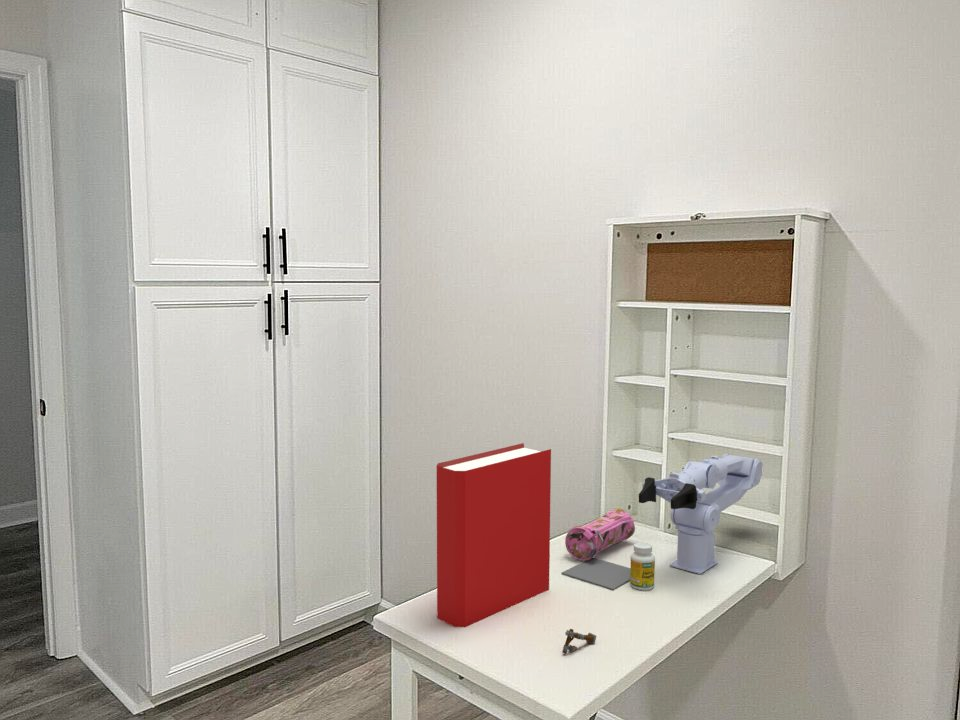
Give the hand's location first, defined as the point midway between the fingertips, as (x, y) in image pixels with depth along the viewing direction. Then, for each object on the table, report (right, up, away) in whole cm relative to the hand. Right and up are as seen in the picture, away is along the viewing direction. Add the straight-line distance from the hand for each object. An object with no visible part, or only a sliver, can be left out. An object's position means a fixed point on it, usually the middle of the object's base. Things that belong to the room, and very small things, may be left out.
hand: (655, 501), depth 173 cm
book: (-35, -21, -3) cm, 41 cm away
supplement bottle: (-2, -20, +6) cm, 21 cm away
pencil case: (-8, -17, +27) cm, 33 cm away
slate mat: (-10, -19, +13) cm, 25 cm away
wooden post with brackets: (-19, -24, -23) cm, 39 cm away
